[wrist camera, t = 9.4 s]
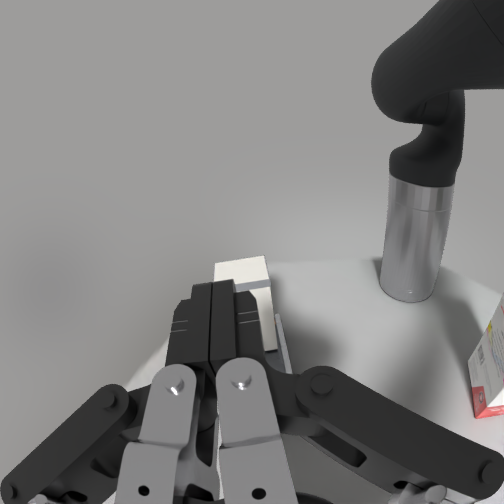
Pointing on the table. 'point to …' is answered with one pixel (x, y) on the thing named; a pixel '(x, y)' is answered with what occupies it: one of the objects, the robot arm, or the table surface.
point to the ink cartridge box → (489, 368)
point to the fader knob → (252, 290)
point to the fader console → (279, 350)
